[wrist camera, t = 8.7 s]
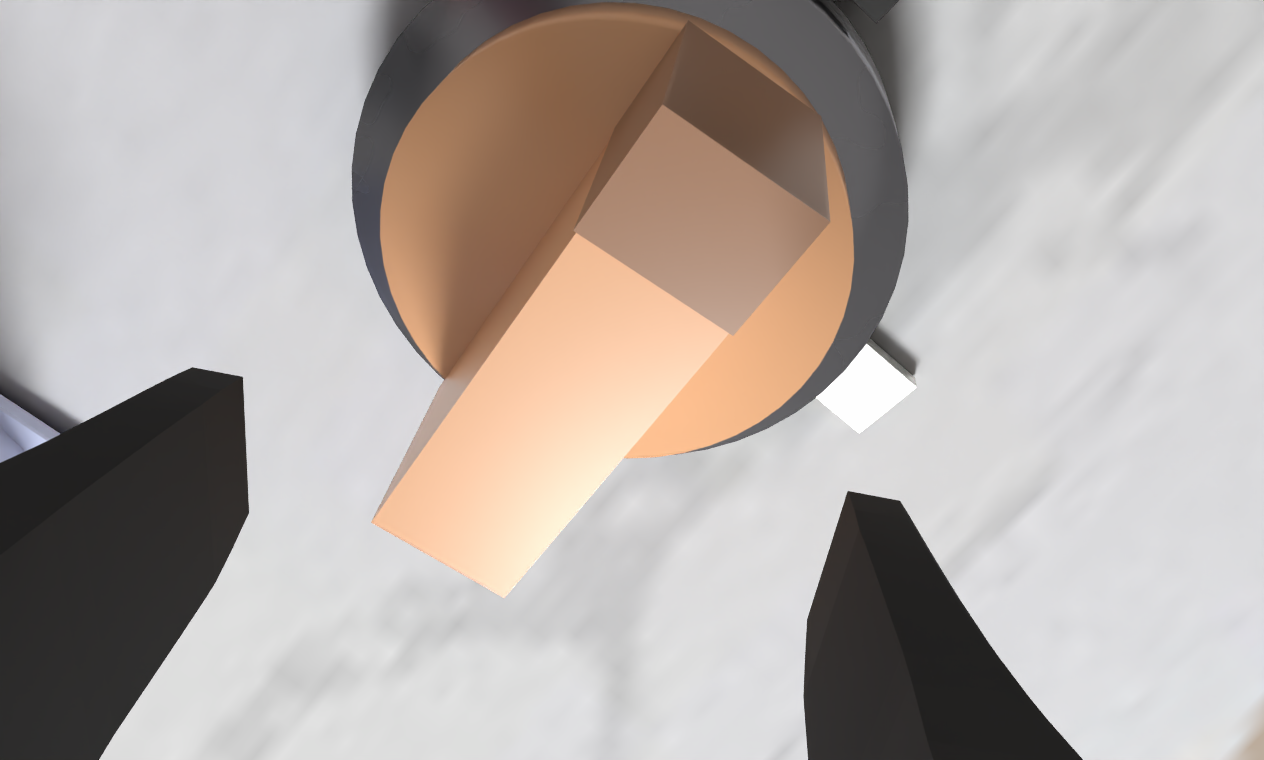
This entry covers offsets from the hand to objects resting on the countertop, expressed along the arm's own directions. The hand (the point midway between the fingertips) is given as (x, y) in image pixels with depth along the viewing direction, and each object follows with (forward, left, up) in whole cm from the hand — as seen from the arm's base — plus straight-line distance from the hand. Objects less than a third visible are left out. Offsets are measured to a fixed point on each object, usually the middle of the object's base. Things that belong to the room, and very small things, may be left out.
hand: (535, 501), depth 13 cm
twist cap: (0, 0, -8) cm, 8 cm away
